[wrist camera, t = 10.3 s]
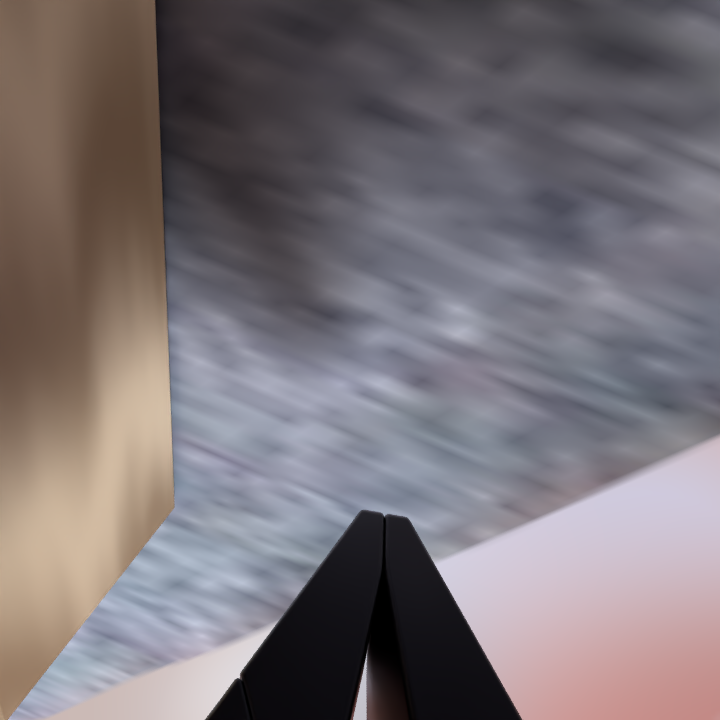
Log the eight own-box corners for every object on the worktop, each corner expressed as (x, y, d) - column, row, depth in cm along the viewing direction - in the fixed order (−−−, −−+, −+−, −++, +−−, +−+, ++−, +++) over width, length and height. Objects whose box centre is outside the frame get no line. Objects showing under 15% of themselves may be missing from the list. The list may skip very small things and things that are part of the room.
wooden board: (80, -134, 7) (-724, -1022, 2) (150, -128, 6) (-502, -1028, 2) (133, 499, 11) (-66, 708, 6) (174, 507, 11) (5, 722, 6)
